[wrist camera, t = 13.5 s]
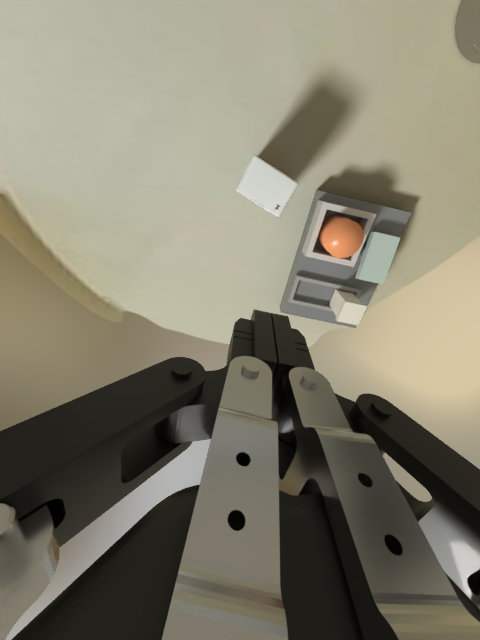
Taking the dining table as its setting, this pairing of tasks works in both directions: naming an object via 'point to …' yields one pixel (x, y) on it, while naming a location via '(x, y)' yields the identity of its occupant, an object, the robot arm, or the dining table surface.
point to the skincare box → (266, 186)
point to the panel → (328, 271)
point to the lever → (347, 307)
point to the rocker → (377, 257)
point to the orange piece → (340, 236)
